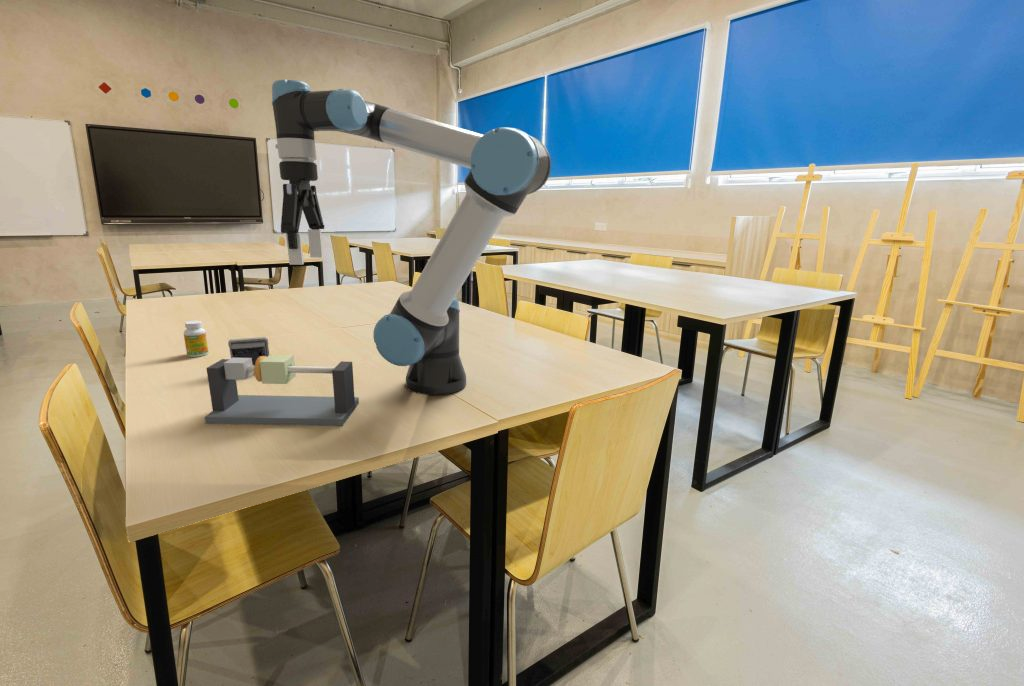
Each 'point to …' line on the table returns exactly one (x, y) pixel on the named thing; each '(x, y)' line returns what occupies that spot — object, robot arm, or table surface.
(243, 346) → the electrical switch
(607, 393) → the table surface
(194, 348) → the supplement bottle
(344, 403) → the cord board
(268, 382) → the pale green sliding cube
